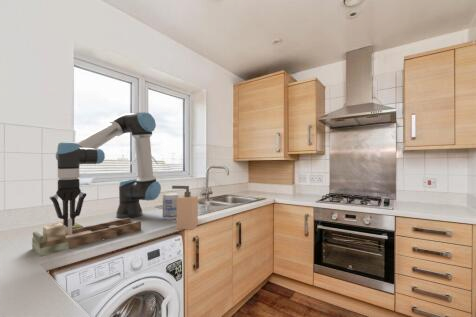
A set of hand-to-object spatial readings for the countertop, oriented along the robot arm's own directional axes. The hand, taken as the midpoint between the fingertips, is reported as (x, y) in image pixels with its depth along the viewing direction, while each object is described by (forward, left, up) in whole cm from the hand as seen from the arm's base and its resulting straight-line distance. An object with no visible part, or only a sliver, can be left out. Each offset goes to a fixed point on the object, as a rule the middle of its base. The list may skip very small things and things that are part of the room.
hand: (69, 233), depth 98 cm
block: (+5, 0, -2) cm, 5 cm away
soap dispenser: (-46, +19, -5) cm, 50 cm away
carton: (-5, -19, -5) cm, 20 cm away
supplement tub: (-53, -2, -5) cm, 53 cm away
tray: (-9, 0, -5) cm, 10 cm away
